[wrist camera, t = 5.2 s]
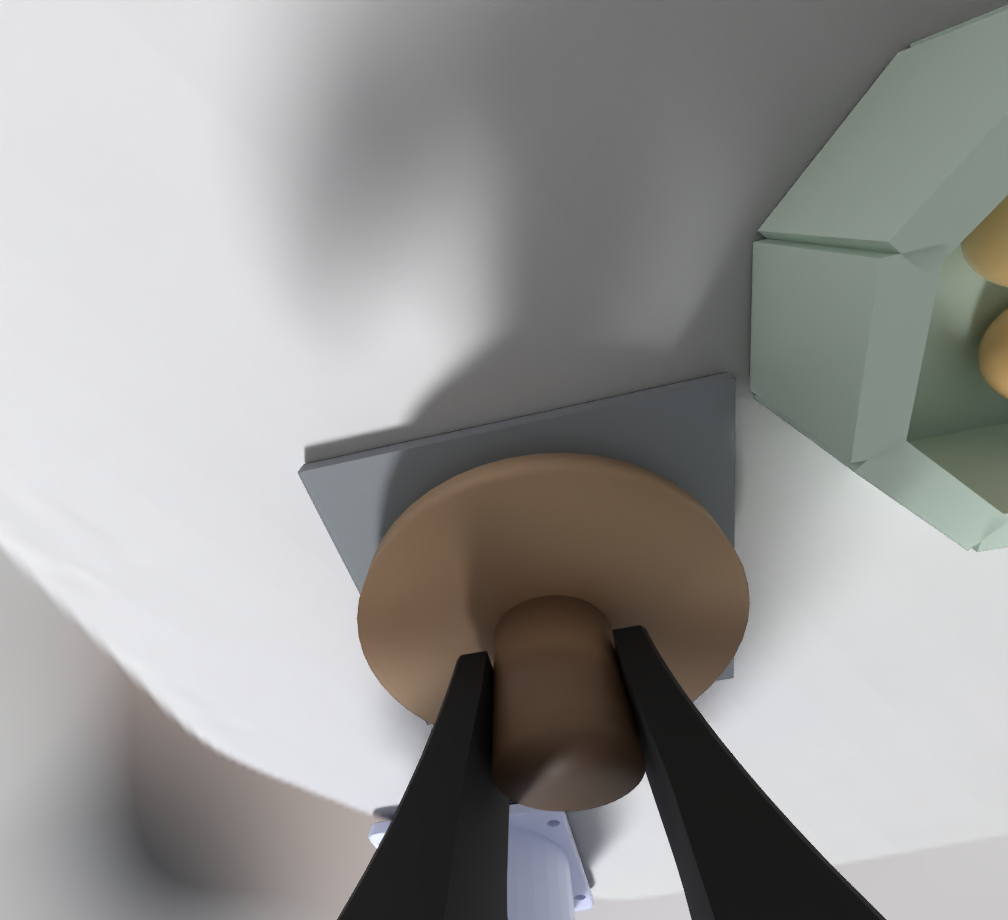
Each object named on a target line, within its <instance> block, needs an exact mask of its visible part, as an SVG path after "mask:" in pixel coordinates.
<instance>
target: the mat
mask: <svg viewBox="0 0 1008 920" xmlns="http://www.w3.org/2000/svg"><path fill="white" fill-rule="evenodd" d="M543 453H577V454H590V455H597V456H602V457H607V458H613V459H618V460H622V461H625V462H628V463H631V464H634V465H637V466H640V467H643V468H646V469H648V470H650V471H652V472H654V473H656V474H659V475H661V476H663V477H665V478H667V479H669V480H670V481H672V482H673V483H675V484H676V485H678V486H679V487H681V488H682V489H684V490H685V491H687V492H688V493H689V494H690V495H691V496H693V497H694V498H695V499H696V500H697V501H698V502H699V503H700V504H701V505H702V506H703V507H704V508H705V509H706V510H707V511H708V513H709V514H710V515H711V517H712V518H713V519H714V520H715V522H716V523H717V524H718V526H719V527H720V529H721V530H722V532H723V533H724V535H725V536H726V537H727V539H728V540H729V542H730V543H731V545H732V546H733V548H734V486H735V378H734V377H733V376H732V375H730V374H729V373H727V372H725V373H721V374H716V375H712V376H707V377H702V378H698V379H693V380H689V381H684V382H679V383H675V384H670V385H666V386H661V387H657V388H652V389H647V390H643V391H638V392H634V393H629V394H624V395H620V396H615V397H611V398H606V399H601V400H597V401H592V402H588V403H583V404H578V405H574V406H569V407H565V408H560V409H555V410H551V411H546V412H542V413H537V414H533V415H528V416H523V417H519V418H514V419H510V420H505V421H500V422H496V423H491V424H487V425H482V426H477V427H473V428H468V429H464V430H459V431H454V432H450V433H445V434H441V435H436V436H431V437H427V438H422V439H418V440H413V441H409V442H404V443H399V444H395V445H390V446H386V447H381V448H376V449H372V450H367V451H363V452H358V453H353V454H349V455H344V456H340V457H335V458H330V459H326V460H321V461H317V462H312V463H307V464H304V465H303V466H302V467H301V469H300V470H299V471H298V474H299V476H300V478H301V480H302V482H303V484H304V486H305V488H306V490H307V492H308V494H309V496H310V498H311V500H312V502H313V504H314V506H315V508H316V509H317V511H318V513H319V515H320V517H321V519H322V521H323V523H324V525H325V527H326V529H327V531H328V533H329V535H330V537H331V539H332V541H333V543H334V544H335V546H336V548H337V550H338V552H339V554H340V556H341V558H342V560H343V562H344V564H345V566H346V568H347V570H348V572H349V574H350V576H351V578H352V579H353V581H354V583H355V585H356V587H357V589H358V591H359V593H360V595H361V592H362V588H363V585H364V581H365V579H366V576H367V573H368V570H369V567H370V564H371V562H372V559H373V556H374V554H375V552H376V550H377V548H378V546H379V544H380V542H381V540H382V538H383V537H384V536H385V534H386V533H387V531H388V530H389V529H390V527H391V526H392V525H393V523H394V522H395V521H396V520H397V519H398V518H399V517H400V516H401V515H402V513H403V512H404V511H405V510H406V509H407V508H408V507H409V506H410V505H411V504H413V503H414V502H415V501H417V500H418V499H419V498H421V497H422V496H423V495H425V494H426V493H427V492H428V491H430V490H431V489H433V488H435V487H436V486H438V485H440V484H442V483H443V482H445V481H447V480H449V479H451V478H452V477H454V476H457V475H459V474H461V473H464V472H466V471H469V470H471V469H473V468H476V467H478V466H481V465H485V464H488V463H492V462H496V461H499V460H503V459H506V458H512V457H519V456H525V455H531V454H543ZM733 673H734V657H733V659H732V660H731V662H730V663H729V664H728V666H727V667H726V669H725V670H724V672H723V673H722V674H721V675H720V676H719V677H718V678H717V680H723V679H730V678H733ZM717 680H716V681H717ZM426 723H427V725H429V724H431V723H429V722H427V721H426Z"/></svg>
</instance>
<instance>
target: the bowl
mask: <svg viewBox="0 0 1008 920" xmlns="http://www.w3.org/2000/svg"><path fill="white" fill-rule="evenodd" d="M757 231H758V232H759V233H761V234H762V235H763V236H764V237H765V238H767V239H763V240H759V241H755V242H753V264H752V311H751V357H750V391H751V392H753V393H754V394H755V396H754V398H755V399H756V400H758V401H759V402H760V403H762V404H763V405H764V406H766V407H767V408H768V409H770V410H771V411H772V412H774V413H775V414H777V415H778V416H779V417H781V418H782V419H783V420H785V421H786V422H787V423H789V424H790V425H791V426H793V427H794V428H795V429H797V430H798V431H799V432H801V433H802V434H804V435H805V436H806V437H808V438H809V439H810V440H812V441H813V442H814V443H816V444H817V445H818V446H820V447H821V448H822V449H824V450H825V451H826V452H828V453H829V454H830V455H832V456H833V457H835V458H836V459H837V460H839V461H840V462H841V463H843V464H844V465H845V466H847V467H848V468H849V469H851V470H852V471H853V472H855V473H856V474H858V475H859V476H861V477H862V478H863V479H865V480H866V481H868V482H869V483H871V484H872V485H874V486H875V487H876V488H878V489H879V490H881V491H882V492H884V493H885V494H886V495H888V496H889V497H891V498H892V499H894V500H895V501H897V502H898V503H899V504H901V505H902V506H904V507H905V508H907V509H908V510H910V511H911V512H912V513H914V514H915V515H917V516H918V517H920V518H921V519H922V520H924V521H925V522H927V523H928V524H930V525H931V526H933V527H934V528H935V529H937V530H938V531H940V532H941V533H943V534H944V535H945V536H947V537H948V538H950V539H951V540H953V541H954V542H956V543H957V544H958V545H960V546H961V547H963V548H964V549H966V550H967V551H968V550H969V549H971V548H972V549H974V550H975V551H977V552H981V551H987V550H993V549H999V548H1005V547H1008V4H1007V5H1005V6H1002V7H1000V8H997V9H995V10H992V11H990V12H987V13H985V14H982V15H980V16H977V17H975V18H972V19H970V20H968V21H965V22H963V23H960V24H958V25H955V26H953V27H950V28H948V29H945V30H943V31H940V32H938V33H935V34H933V35H930V36H928V37H925V38H923V39H920V40H918V41H915V42H913V43H910V48H908V49H906V50H903V51H900V52H898V53H897V54H896V55H895V57H894V58H893V59H892V60H891V62H890V63H889V64H888V66H887V67H886V68H885V69H884V71H883V72H882V73H881V74H880V76H879V77H878V78H877V79H876V81H875V82H874V83H873V85H872V86H871V87H870V88H869V90H868V91H867V92H866V93H865V95H864V96H863V97H862V99H861V100H860V101H859V102H858V104H857V105H856V106H855V107H854V109H853V110H852V111H851V112H850V114H849V115H848V116H847V118H846V119H845V120H844V121H843V123H842V124H841V125H840V126H839V128H838V129H837V130H836V131H835V133H834V134H833V135H832V137H831V138H830V139H829V140H828V142H827V143H826V144H825V145H824V147H823V148H822V149H821V150H820V152H819V153H818V154H817V156H816V157H815V158H814V159H813V161H812V162H811V163H810V164H809V166H808V167H807V168H806V170H805V171H804V172H803V173H802V175H801V176H800V177H799V178H798V180H797V181H796V182H795V183H794V185H793V186H792V187H791V189H790V190H789V191H788V192H787V194H786V195H785V196H784V197H783V199H782V200H781V201H780V202H779V204H778V205H777V206H776V208H775V209H774V210H773V211H772V213H771V214H770V215H769V216H768V218H767V219H766V220H765V221H764V223H763V224H762V225H761V227H760V228H759V229H758V230H757Z"/></svg>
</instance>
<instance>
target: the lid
mask: <svg viewBox="0 0 1008 920" xmlns="http://www.w3.org/2000/svg"><path fill="white" fill-rule="evenodd" d="M749 605H750V602H749V589H748V583H747V579H746V575H745V572H744V568H743V565H742V563H741V561H740V559H739V557H738V556H737V554H736V552H735V550H734V548H733V546H732V545H731V543H730V542H729V540H728V539H727V537H726V536H725V535H724V533H723V532H722V530H721V529H720V527H719V526H718V524H717V523H716V522H715V520H714V519H713V518H712V517H711V515H710V514H709V513H708V511H707V510H706V509H705V508H704V507H703V506H702V505H701V504H700V503H699V502H698V501H697V500H696V499H695V498H694V497H693V496H691V495H690V494H689V493H688V492H687V491H685V490H684V489H682V488H681V487H679V486H678V485H676V484H675V483H673V482H672V481H670V480H669V479H667V478H665V477H663V476H661V475H659V474H656V473H654V472H652V471H650V470H648V469H646V468H643V467H640V466H637V465H634V464H631V463H628V462H625V461H622V460H618V459H613V458H607V457H602V456H597V455H590V454H577V453H543V454H531V455H525V456H519V457H512V458H506V459H503V460H499V461H496V462H492V463H488V464H485V465H481V466H478V467H476V468H473V469H471V470H469V471H466V472H464V473H461V474H459V475H457V476H454V477H452V478H451V479H449V480H447V481H445V482H443V483H442V484H440V485H438V486H436V487H435V488H433V489H431V490H430V491H428V492H427V493H426V494H425V495H423V496H422V497H421V498H419V499H418V500H417V501H415V502H414V503H413V504H411V505H410V506H409V507H408V508H407V509H406V510H405V511H404V512H403V513H402V515H401V516H400V517H399V518H398V519H397V520H396V521H395V522H394V523H393V525H392V526H391V527H390V529H389V530H388V531H387V533H386V534H385V536H384V537H383V538H382V540H381V542H380V544H379V546H378V548H377V550H376V552H375V554H374V556H373V559H372V562H371V564H370V567H369V570H368V573H367V576H366V579H365V581H364V585H363V588H362V592H361V595H360V598H359V605H358V615H357V623H358V634H359V639H360V643H361V646H362V650H363V654H364V656H365V658H366V660H367V662H368V664H369V666H370V668H371V670H372V672H373V673H374V675H375V676H376V677H377V679H378V680H379V682H380V683H381V685H382V686H383V687H384V688H385V689H386V690H387V691H388V692H389V693H390V694H391V695H392V696H393V698H395V699H396V700H397V701H398V702H399V703H401V704H402V705H403V706H404V707H405V708H407V709H408V710H409V711H411V712H412V713H414V714H416V715H417V716H419V717H420V718H422V719H423V720H425V721H427V722H429V723H431V724H433V725H434V724H435V721H436V719H437V716H438V714H439V711H440V708H441V706H442V703H443V700H444V697H445V695H446V692H447V689H448V686H449V683H450V680H451V677H452V674H453V671H454V668H455V665H456V662H457V659H458V658H459V657H460V655H464V654H470V653H476V652H482V651H487V653H488V656H489V658H490V661H491V664H492V666H493V744H492V776H493V780H494V783H495V785H496V786H497V788H498V789H499V790H500V791H501V793H503V794H504V795H505V796H506V797H508V798H509V799H511V800H512V801H514V802H517V803H519V804H521V805H524V806H527V807H530V808H534V809H539V810H545V811H558V812H567V811H580V810H586V809H592V808H596V807H600V806H603V805H606V804H609V803H611V802H614V801H616V800H618V799H620V798H622V797H623V796H625V795H626V794H628V793H629V792H631V791H632V790H633V789H634V788H635V787H636V786H637V785H638V784H639V783H640V781H641V780H642V778H643V776H644V774H645V770H646V760H645V757H644V753H643V749H642V745H641V742H640V738H639V734H638V730H637V726H636V723H635V719H634V715H633V711H632V708H631V704H630V701H629V697H628V694H627V691H626V687H625V683H624V679H623V676H622V672H621V668H620V664H619V660H618V657H617V653H616V649H615V643H614V637H613V631H612V630H614V629H619V628H625V627H631V626H637V625H641V626H643V627H645V628H646V630H647V632H648V634H649V636H650V638H651V639H652V641H653V643H654V645H655V647H656V648H657V650H658V652H659V653H660V655H661V657H662V658H663V660H664V661H665V663H666V665H667V666H668V668H669V669H670V671H671V672H672V674H673V675H674V677H675V678H676V680H677V681H678V683H679V684H680V686H681V687H682V689H683V690H684V691H685V693H686V694H687V696H688V697H689V698H690V700H691V701H694V700H695V699H697V698H698V697H699V696H700V695H701V694H702V693H703V692H705V691H706V690H707V689H708V688H709V687H710V686H711V685H712V684H713V683H714V682H715V681H716V680H717V678H718V677H719V676H720V675H721V674H722V673H723V672H724V670H725V669H726V667H727V666H728V664H729V663H730V662H731V660H732V659H733V657H734V656H735V654H736V651H737V649H738V647H739V645H740V643H741V641H742V639H743V636H744V632H745V629H746V625H747V622H748V614H749Z"/></svg>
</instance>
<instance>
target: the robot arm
mask: <svg viewBox="0 0 1008 920" xmlns="http://www.w3.org/2000/svg"><path fill="white" fill-rule="evenodd" d="M612 631H613V637H614V643H615V649H616V653H617V657H618V660H619V664H620V668H621V672H622V676H623V679H624V683H625V687H626V691H627V694H628V697H629V701H630V704H631V708H632V711H633V715H634V719H635V723H636V726H637V730H638V734H639V738H640V742H641V745H642V749H643V753H644V757H645V760H646V770H645V772H646V775H647V778H648V781H649V784H650V787H651V790H652V793H653V796H654V799H655V802H656V805H657V808H658V810H659V813H660V816H661V819H662V822H663V825H664V828H665V831H666V834H667V837H668V840H669V843H670V846H671V849H672V852H673V855H674V858H675V862H676V865H677V868H678V871H679V875H680V878H681V881H682V885H683V888H684V892H685V896H686V899H687V903H688V907H689V911H690V915H691V918H692V920H886V919H885V918H884V917H883V916H882V915H881V914H880V913H879V912H878V911H877V910H876V909H875V908H874V907H873V906H872V905H871V904H870V903H869V902H868V901H867V900H866V899H865V898H864V897H863V896H862V895H861V894H860V893H859V892H858V891H857V890H856V889H855V888H854V887H853V886H852V885H851V884H850V883H849V882H848V881H847V880H846V879H845V878H844V877H843V876H842V875H841V874H840V873H839V872H838V871H837V870H836V869H835V868H834V867H833V866H832V865H831V864H830V863H829V862H828V861H827V860H826V859H825V858H824V857H823V856H822V855H821V854H820V852H819V851H818V850H817V849H816V848H815V847H814V846H813V845H812V844H811V843H810V842H809V841H808V840H807V839H806V838H805V837H804V835H803V834H802V833H801V832H800V831H799V830H798V829H797V828H796V827H795V826H794V825H793V824H792V823H791V821H790V820H789V819H788V818H787V817H786V816H785V815H784V814H783V813H782V811H781V810H780V809H779V808H778V807H777V806H776V805H775V804H774V803H773V801H772V800H771V799H770V798H769V797H768V796H767V795H766V794H765V792H764V791H763V790H762V789H761V788H760V787H759V785H758V784H757V783H756V782H755V781H754V780H753V778H752V777H751V776H750V775H749V774H748V773H747V771H746V770H745V769H744V768H743V767H742V765H741V764H740V763H739V762H738V760H737V759H736V758H735V757H734V756H733V754H732V753H731V752H730V751H729V749H728V748H727V747H726V746H725V745H724V743H723V742H722V741H721V739H720V738H719V737H718V736H717V734H716V733H715V732H714V731H713V729H712V728H711V727H710V725H709V724H708V723H707V721H706V720H705V719H704V717H703V716H702V715H701V713H700V712H699V711H698V709H697V708H696V707H695V705H694V704H693V702H692V701H691V700H690V698H689V697H688V696H687V694H686V693H685V691H684V690H683V689H682V687H681V686H680V684H679V683H678V681H677V680H676V678H675V677H674V675H673V674H672V672H671V671H670V669H669V668H668V666H667V665H666V663H665V661H664V660H663V658H662V657H661V655H660V653H659V652H658V650H657V648H656V647H655V645H654V643H653V641H652V639H651V638H650V636H649V634H648V632H647V630H646V628H645V627H643V626H641V625H637V626H631V627H625V628H619V629H614V630H612ZM492 744H493V666H492V664H491V661H490V658H489V656H488V653H487V651H482V652H476V653H470V654H464V655H460V657H459V658H458V659H457V662H456V665H455V668H454V671H453V674H452V677H451V680H450V683H449V686H448V689H447V692H446V695H445V697H444V700H443V703H442V706H441V708H440V711H439V714H438V716H437V719H436V721H435V724H434V726H433V729H432V731H431V734H430V736H429V739H428V741H427V743H426V746H425V748H424V751H423V753H422V756H421V758H420V760H419V763H418V765H417V767H416V769H415V772H414V774H413V776H412V778H411V780H410V782H409V785H408V787H407V789H406V791H405V793H404V795H403V798H402V800H401V802H400V804H399V806H398V808H397V810H396V812H395V815H394V817H393V819H392V820H391V821H383V822H377V823H375V824H373V825H372V826H371V828H370V832H369V839H370V841H371V842H372V844H373V845H374V846H375V847H376V849H377V850H376V852H375V853H374V855H373V857H372V859H371V861H370V863H369V865H368V867H367V868H366V870H365V872H364V874H363V876H362V877H361V879H360V881H359V883H358V884H357V886H356V888H355V890H354V892H353V893H352V895H351V897H350V898H349V900H348V902H347V903H346V905H345V907H344V909H343V910H342V912H341V914H340V916H339V917H338V919H337V920H575V913H574V911H581V910H587V909H590V908H592V907H593V896H592V893H591V890H590V887H589V884H588V881H587V878H586V875H585V872H584V868H583V865H582V862H581V859H580V856H579V853H578V850H577V847H576V844H575V841H574V838H573V835H572V832H571V829H570V826H569V823H568V820H567V817H566V814H565V812H558V811H545V810H539V809H534V808H530V807H527V806H524V805H521V804H512V805H509V801H510V799H509V798H508V797H506V796H505V795H504V794H503V793H501V791H500V790H499V789H498V788H497V786H496V785H495V783H494V780H493V776H492Z"/></svg>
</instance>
